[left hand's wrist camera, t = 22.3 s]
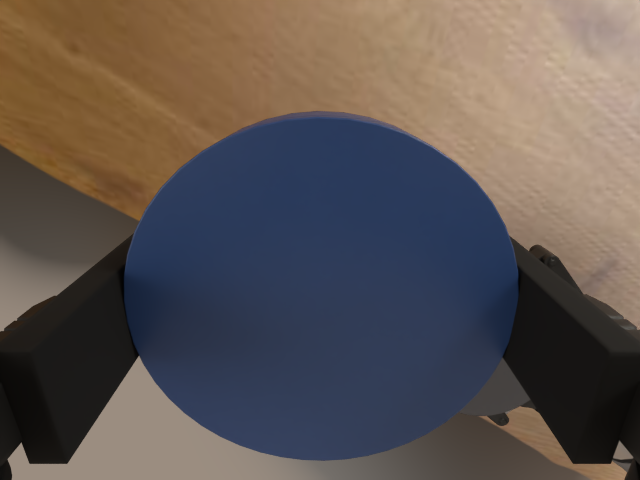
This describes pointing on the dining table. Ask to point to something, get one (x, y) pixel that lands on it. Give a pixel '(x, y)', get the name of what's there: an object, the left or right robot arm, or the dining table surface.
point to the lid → (321, 287)
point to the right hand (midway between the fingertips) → (410, 275)
